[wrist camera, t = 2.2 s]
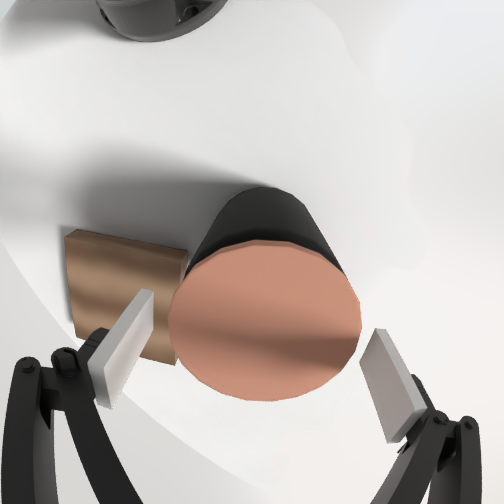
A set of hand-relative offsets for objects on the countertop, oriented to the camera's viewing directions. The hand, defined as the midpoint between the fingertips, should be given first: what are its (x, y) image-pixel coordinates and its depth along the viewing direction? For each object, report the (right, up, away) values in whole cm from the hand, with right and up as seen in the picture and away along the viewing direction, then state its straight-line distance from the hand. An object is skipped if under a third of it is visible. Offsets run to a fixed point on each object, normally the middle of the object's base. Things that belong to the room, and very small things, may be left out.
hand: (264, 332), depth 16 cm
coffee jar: (+1, +6, +16) cm, 17 cm away
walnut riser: (-17, -1, +19) cm, 25 cm away
